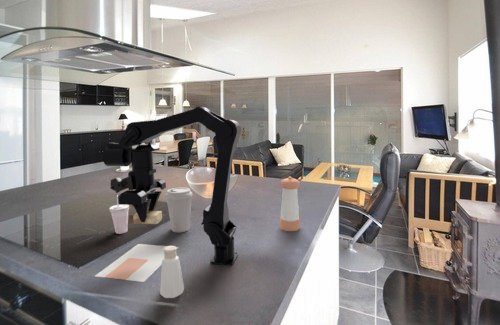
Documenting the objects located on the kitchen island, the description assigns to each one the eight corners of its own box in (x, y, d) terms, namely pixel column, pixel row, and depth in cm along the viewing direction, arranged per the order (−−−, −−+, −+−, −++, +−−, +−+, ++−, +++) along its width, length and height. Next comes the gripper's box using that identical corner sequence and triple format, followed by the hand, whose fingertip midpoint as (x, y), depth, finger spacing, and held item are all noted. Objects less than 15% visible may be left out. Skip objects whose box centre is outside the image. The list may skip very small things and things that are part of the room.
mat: (138, 244, 88) (138, 243, 88) (178, 248, 85) (178, 246, 85) (94, 277, 70) (94, 275, 70) (144, 283, 67) (143, 281, 67)
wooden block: (129, 223, 78) (129, 215, 78) (136, 218, 82) (135, 210, 82) (157, 224, 78) (156, 215, 78) (162, 219, 82) (161, 210, 82)
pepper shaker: (175, 302, 60) (172, 255, 58) (155, 297, 62) (151, 251, 60) (189, 288, 65) (187, 244, 63) (170, 283, 67) (167, 241, 65)
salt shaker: (278, 230, 99) (278, 178, 96) (281, 223, 106) (281, 174, 103) (298, 232, 97) (299, 179, 94) (300, 224, 104) (301, 175, 101)
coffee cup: (165, 227, 102) (163, 188, 100) (190, 223, 106) (189, 185, 104) (169, 237, 94) (166, 194, 92) (196, 232, 98) (195, 191, 96)
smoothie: (107, 235, 96) (103, 196, 94) (119, 228, 102) (116, 192, 100) (123, 237, 94) (120, 197, 92) (135, 229, 101) (132, 192, 99)
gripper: (130, 161, 87) (134, 209, 90) (95, 172, 69) (100, 231, 71) (165, 161, 87) (167, 209, 89) (138, 172, 68) (142, 232, 71)
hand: (146, 219), depth 80 cm, fingers closed on wooden block, 4 cm apart
